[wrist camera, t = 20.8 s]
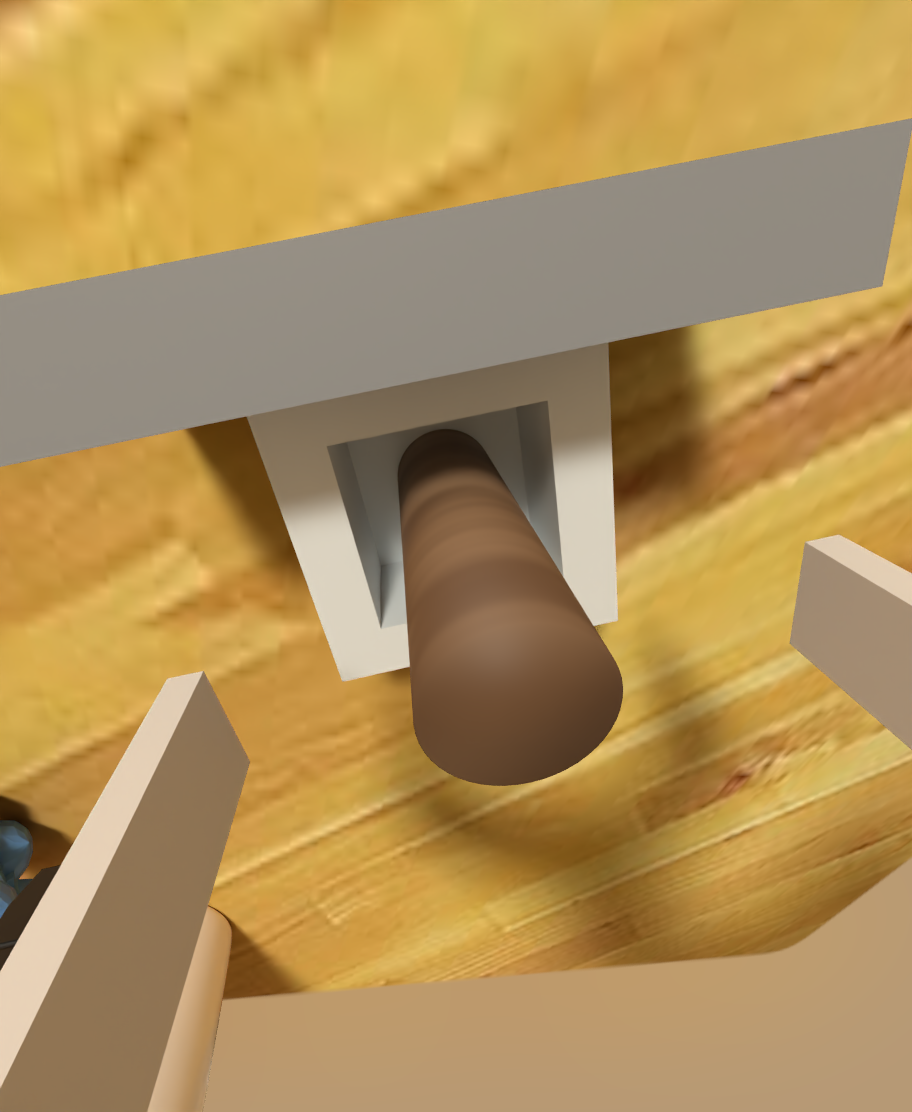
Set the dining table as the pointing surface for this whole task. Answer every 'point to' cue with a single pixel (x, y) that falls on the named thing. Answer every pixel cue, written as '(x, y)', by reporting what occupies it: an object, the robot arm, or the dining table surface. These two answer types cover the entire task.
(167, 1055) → the candle holder
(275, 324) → the wall
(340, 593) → the white square open box
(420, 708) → the dowel
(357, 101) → the dining table surface
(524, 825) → the dining table surface
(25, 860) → the grapes
